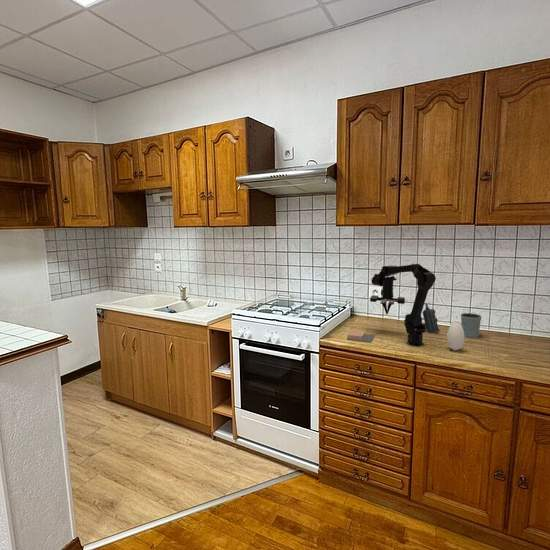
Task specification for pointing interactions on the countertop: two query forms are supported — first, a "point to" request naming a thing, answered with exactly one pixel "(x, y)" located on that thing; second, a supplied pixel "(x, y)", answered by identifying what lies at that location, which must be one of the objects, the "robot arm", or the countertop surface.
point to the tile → (356, 334)
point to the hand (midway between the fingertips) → (387, 314)
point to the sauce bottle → (455, 335)
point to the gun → (430, 320)
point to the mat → (366, 338)
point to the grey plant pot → (470, 324)
